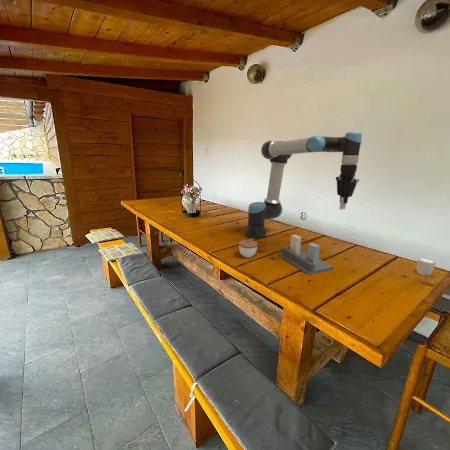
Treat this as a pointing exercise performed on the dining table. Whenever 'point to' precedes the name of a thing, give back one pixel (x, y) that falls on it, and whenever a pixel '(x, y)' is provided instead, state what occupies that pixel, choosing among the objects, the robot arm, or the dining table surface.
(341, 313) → the dining table surface
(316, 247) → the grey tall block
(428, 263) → the beige cylinder
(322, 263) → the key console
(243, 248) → the lidded jar
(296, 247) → the cream key
